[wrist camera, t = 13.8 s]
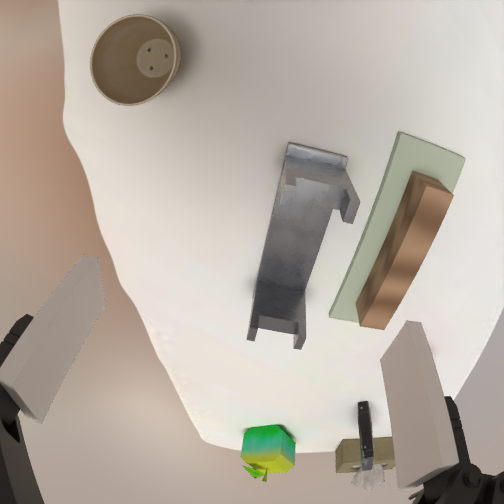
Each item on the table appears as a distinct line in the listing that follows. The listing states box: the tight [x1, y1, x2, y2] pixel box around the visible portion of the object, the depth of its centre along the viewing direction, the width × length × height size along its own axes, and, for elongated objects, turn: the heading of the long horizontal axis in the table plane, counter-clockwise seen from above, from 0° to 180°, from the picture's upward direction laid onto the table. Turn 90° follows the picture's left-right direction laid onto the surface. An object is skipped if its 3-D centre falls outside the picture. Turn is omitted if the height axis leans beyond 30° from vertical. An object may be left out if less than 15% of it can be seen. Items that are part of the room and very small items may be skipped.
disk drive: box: [358, 401, 374, 471], centre depth 62 cm, size 10×3×15 cm, turn 15°
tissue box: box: [336, 437, 396, 490], centre depth 73 cm, size 19×10×16 cm, turn 90°
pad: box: [329, 132, 466, 323], centre depth 42 cm, size 30×10×1 cm, turn 170°
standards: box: [247, 142, 360, 350], centre depth 39 cm, size 24×7×10 cm, turn 170°
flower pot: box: [90, 14, 181, 106], centre depth 29 cm, size 10×10×7 cm
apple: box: [241, 424, 296, 482], centre depth 72 cm, size 11×10×15 cm
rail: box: [356, 170, 454, 330], centre depth 40 cm, size 22×4×5 cm, turn 170°
